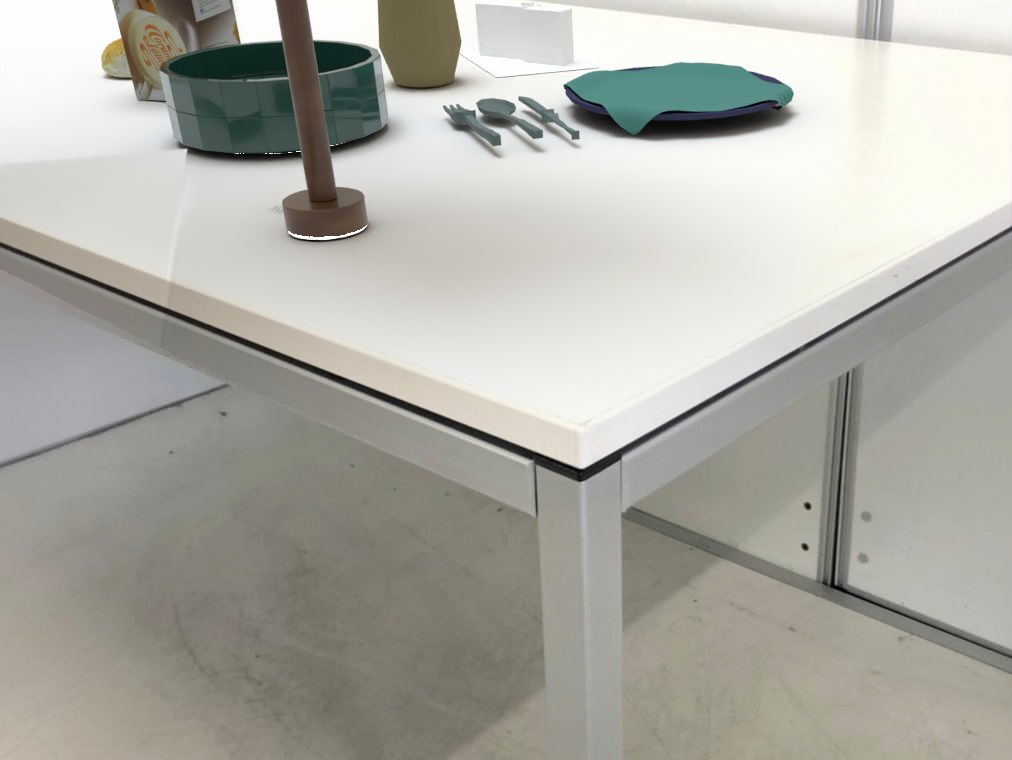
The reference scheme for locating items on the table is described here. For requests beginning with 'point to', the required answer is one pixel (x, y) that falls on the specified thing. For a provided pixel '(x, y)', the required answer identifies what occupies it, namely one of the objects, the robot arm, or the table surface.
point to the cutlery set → (645, 97)
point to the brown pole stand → (313, 139)
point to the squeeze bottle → (419, 41)
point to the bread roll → (115, 60)
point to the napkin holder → (524, 39)
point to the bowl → (269, 96)
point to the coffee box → (170, 35)
